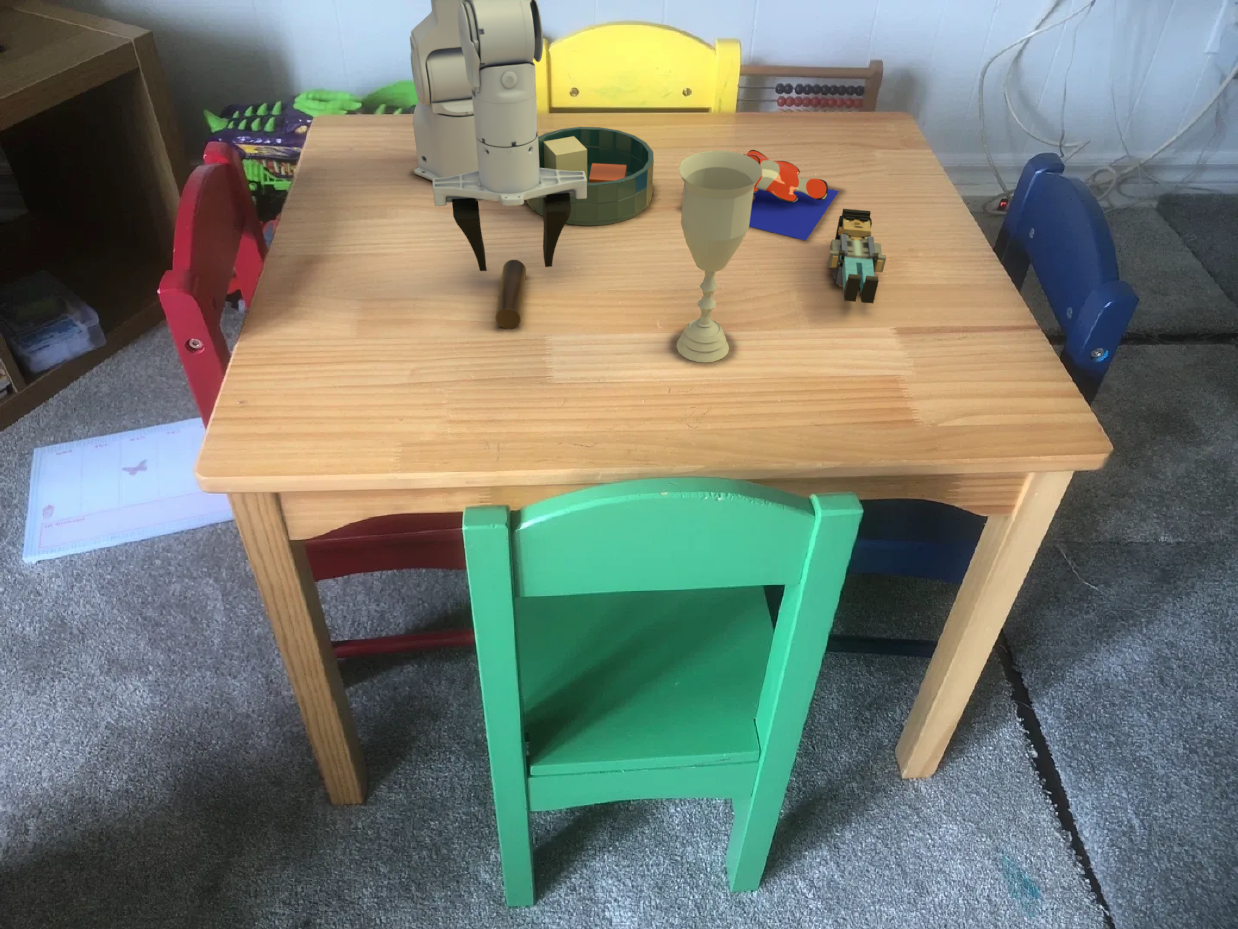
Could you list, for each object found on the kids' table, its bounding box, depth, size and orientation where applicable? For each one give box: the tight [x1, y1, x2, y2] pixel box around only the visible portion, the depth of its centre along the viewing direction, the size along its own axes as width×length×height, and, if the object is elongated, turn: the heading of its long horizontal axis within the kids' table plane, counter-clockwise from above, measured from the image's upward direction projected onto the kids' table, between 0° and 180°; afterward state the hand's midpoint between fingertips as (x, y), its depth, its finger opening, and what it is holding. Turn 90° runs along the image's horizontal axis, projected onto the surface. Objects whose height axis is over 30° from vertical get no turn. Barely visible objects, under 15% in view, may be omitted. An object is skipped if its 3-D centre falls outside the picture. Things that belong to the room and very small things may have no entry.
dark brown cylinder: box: [495, 259, 527, 330], centre depth 92 cm, size 2×2×9 cm
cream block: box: [544, 136, 587, 179], centre depth 111 cm, size 4×4×4 cm
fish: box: [742, 149, 830, 204], centre depth 108 cm, size 13×5×9 cm
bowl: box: [525, 126, 655, 227], centre depth 108 cm, size 15×15×5 cm
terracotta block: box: [589, 163, 626, 183], centre depth 106 cm, size 4×4×4 cm
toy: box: [827, 208, 887, 304], centre depth 96 cm, size 6×4×15 cm
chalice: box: [676, 150, 762, 363], centre depth 82 cm, size 7×7×18 cm
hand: (515, 263), depth 93 cm, fingers open, 6 cm apart
